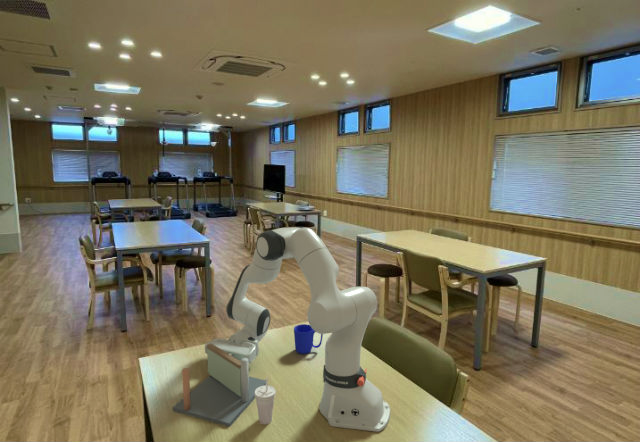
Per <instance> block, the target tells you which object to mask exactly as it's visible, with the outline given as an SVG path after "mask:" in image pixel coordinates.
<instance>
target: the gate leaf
mask: <svg viewBox="0 0 640 442" xmlns="http://www.w3.org/2000/svg"><path fill="white" fill-rule="evenodd" d="M206 355H207V374H209V376H210V375H211V376H213V377H214V378H215V379H217V380H218V381H220V382H221V383H222V384H224V385H225V386H226V387H228V388H229V389H231V390H232V391H233V392H235V393H236V394H238V395H239V396H240V397H241V396H242V393H241V361H239V360H238V359H236V358H234V357H233V356H231V355H229V354H228V353H226V352H225V351H223V350H221V349H220V348H218V347H216V346H215V345H213V344H212V343H211V344H208V345H207V354H206Z"/></svg>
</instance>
